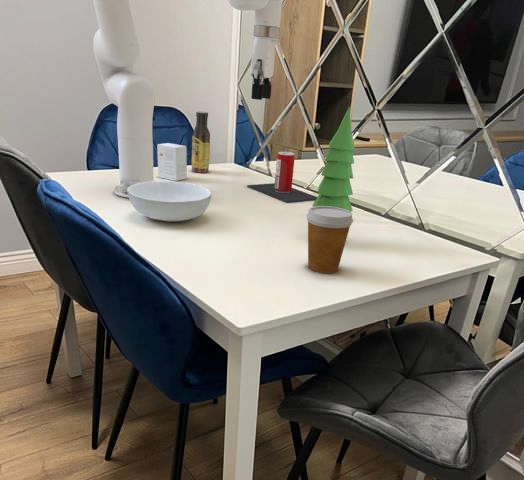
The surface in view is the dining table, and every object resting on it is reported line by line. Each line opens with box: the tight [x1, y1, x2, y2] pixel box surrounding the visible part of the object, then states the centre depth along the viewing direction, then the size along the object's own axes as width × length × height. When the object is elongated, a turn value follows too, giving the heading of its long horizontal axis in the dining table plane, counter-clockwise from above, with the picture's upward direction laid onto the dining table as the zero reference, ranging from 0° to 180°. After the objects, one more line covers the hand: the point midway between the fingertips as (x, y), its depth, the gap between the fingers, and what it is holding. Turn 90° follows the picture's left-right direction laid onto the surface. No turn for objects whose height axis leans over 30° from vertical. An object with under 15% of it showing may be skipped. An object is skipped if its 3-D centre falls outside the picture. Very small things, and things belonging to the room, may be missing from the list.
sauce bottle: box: [191, 110, 211, 174], centre depth 187 cm, size 7×6×20 cm
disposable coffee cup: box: [305, 206, 354, 274], centre depth 110 cm, size 10×10×12 cm
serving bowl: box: [128, 180, 212, 223], centre depth 136 cm, size 21×21×7 cm
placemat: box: [247, 182, 318, 204], centre depth 172 cm, size 22×13×1 cm, turn 34°
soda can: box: [274, 151, 295, 193], centre depth 169 cm, size 6×6×12 cm
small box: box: [156, 142, 188, 182], centre depth 176 cm, size 8×6×10 cm
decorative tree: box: [312, 105, 356, 213], centre depth 123 cm, size 10×9×30 cm
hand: (261, 98), depth 163 cm, fingers open, 9 cm apart
